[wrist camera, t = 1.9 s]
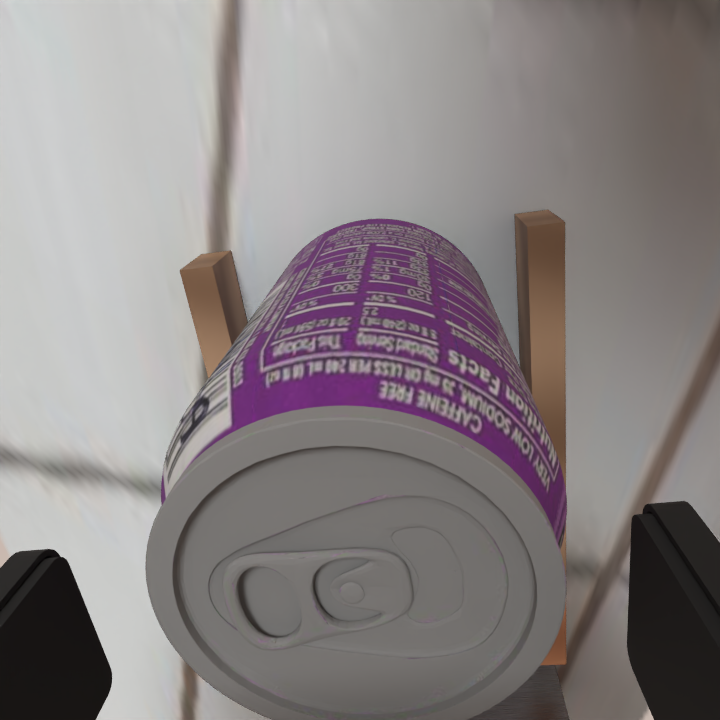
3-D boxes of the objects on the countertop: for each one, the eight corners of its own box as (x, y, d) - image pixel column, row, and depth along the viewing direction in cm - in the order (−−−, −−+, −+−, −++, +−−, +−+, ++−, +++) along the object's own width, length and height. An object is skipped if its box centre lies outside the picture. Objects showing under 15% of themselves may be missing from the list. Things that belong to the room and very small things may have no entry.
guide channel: (201, 254, 19) (137, 302, 14) (548, 209, 18) (598, 246, 13) (313, 704, 27) (296, 824, 23) (555, 696, 26) (587, 822, 21)
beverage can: (301, 426, 21) (193, 767, 10) (252, 235, 19) (36, 423, 8) (497, 400, 20) (608, 747, 9) (475, 195, 18) (595, 345, 7)
